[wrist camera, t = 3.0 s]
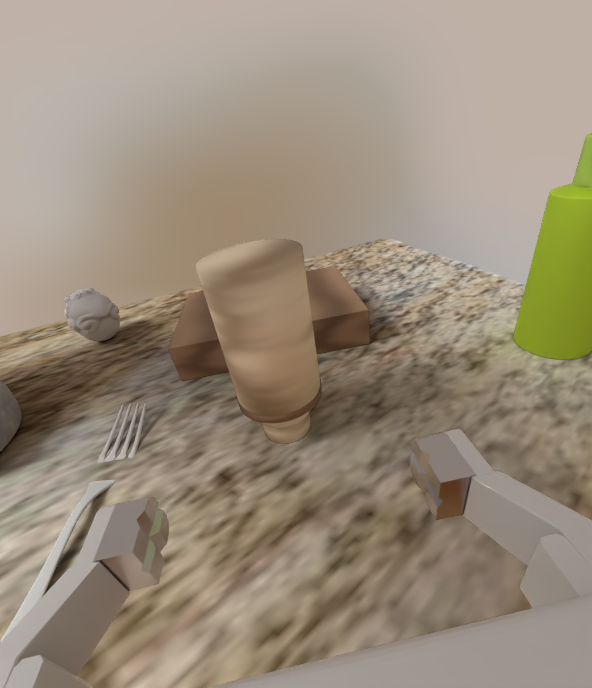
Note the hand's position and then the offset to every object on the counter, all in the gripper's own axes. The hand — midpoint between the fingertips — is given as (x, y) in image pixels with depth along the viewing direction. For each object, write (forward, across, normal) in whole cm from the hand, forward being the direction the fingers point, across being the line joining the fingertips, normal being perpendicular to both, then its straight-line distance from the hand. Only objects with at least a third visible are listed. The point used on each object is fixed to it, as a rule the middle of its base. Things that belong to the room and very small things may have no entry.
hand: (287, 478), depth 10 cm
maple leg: (+12, 0, +10) cm, 16 cm away
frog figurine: (+36, +23, +10) cm, 44 cm away
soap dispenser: (+16, -25, +11) cm, 31 cm away
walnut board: (+28, 0, +10) cm, 30 cm away
